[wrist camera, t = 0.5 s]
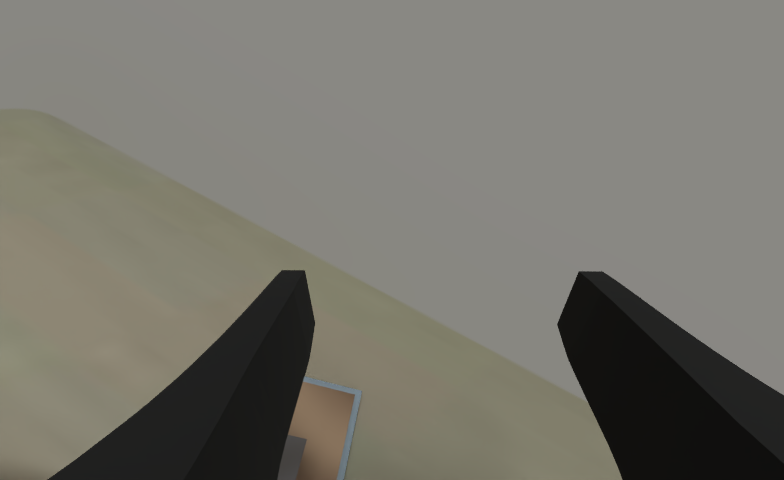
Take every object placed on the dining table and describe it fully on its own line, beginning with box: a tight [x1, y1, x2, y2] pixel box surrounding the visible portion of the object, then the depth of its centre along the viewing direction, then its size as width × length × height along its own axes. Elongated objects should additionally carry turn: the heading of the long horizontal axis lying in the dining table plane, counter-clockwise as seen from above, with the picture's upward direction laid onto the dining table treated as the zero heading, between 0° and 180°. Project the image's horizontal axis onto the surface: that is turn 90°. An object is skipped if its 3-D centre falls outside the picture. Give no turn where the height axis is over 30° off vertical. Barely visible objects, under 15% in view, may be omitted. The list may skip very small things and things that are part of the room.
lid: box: [277, 382, 355, 480], centre depth 19 cm, size 10×10×5 cm
